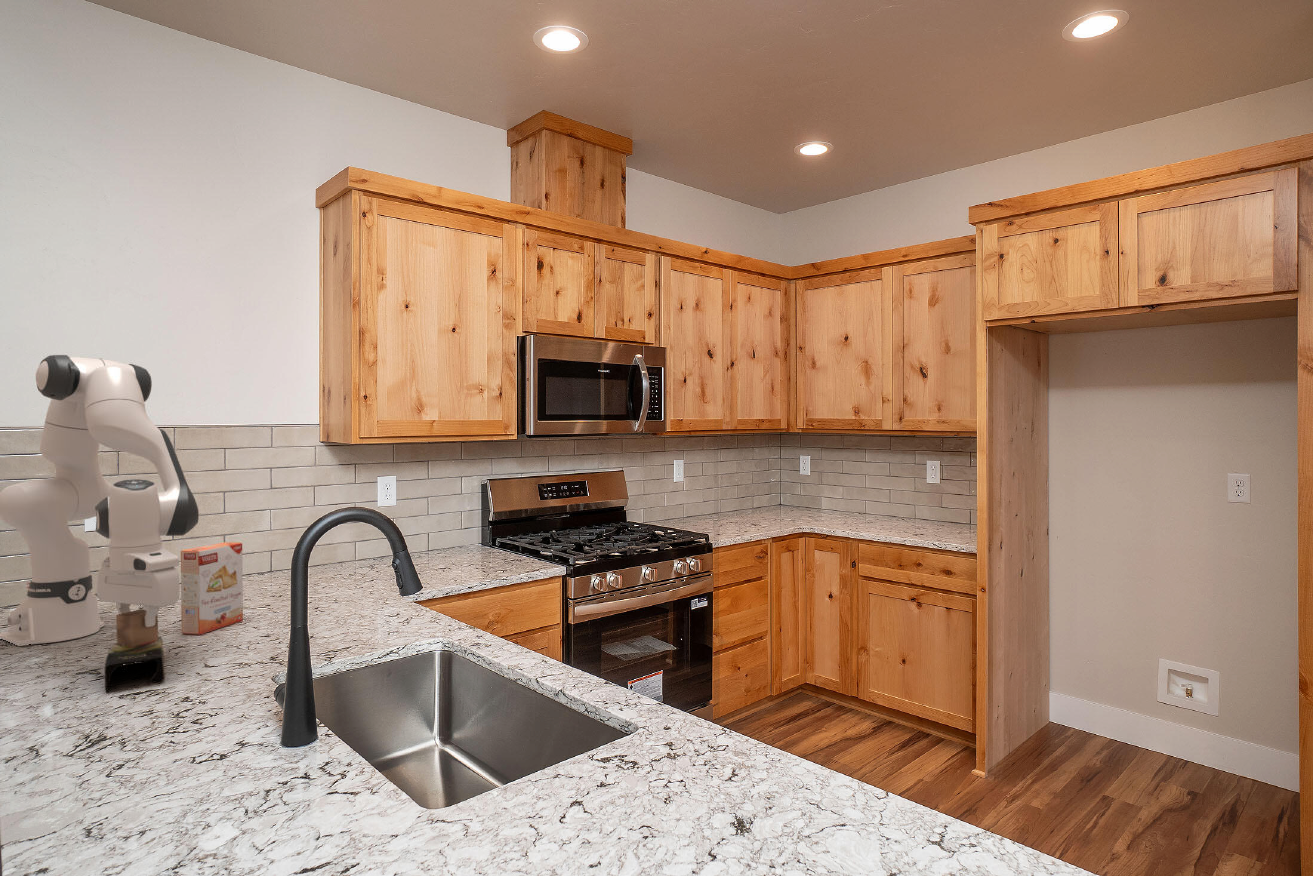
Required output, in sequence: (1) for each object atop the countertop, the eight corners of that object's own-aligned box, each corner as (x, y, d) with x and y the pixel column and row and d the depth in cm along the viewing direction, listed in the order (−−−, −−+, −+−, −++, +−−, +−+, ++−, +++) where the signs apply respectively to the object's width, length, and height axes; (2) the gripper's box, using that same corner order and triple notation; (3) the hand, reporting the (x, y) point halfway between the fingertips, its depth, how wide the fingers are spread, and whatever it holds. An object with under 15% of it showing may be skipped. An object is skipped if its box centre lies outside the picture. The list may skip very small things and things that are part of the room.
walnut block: (117, 644, 147) (116, 614, 147) (142, 637, 152) (141, 609, 152) (133, 646, 146) (132, 616, 145) (158, 639, 150) (157, 610, 150)
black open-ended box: (107, 667, 153) (107, 639, 153) (163, 659, 159) (163, 631, 159) (103, 696, 137) (102, 664, 137) (165, 685, 142) (165, 655, 142)
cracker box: (201, 635, 175) (199, 550, 175) (180, 634, 177) (178, 550, 176) (245, 620, 189) (243, 541, 189) (225, 619, 190) (223, 541, 190)
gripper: (86, 558, 149) (88, 625, 149) (154, 563, 142) (156, 633, 142) (118, 553, 155) (120, 617, 155) (185, 558, 148) (187, 624, 148)
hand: (138, 625), depth 149 cm, fingers closed on walnut block, 5 cm apart
